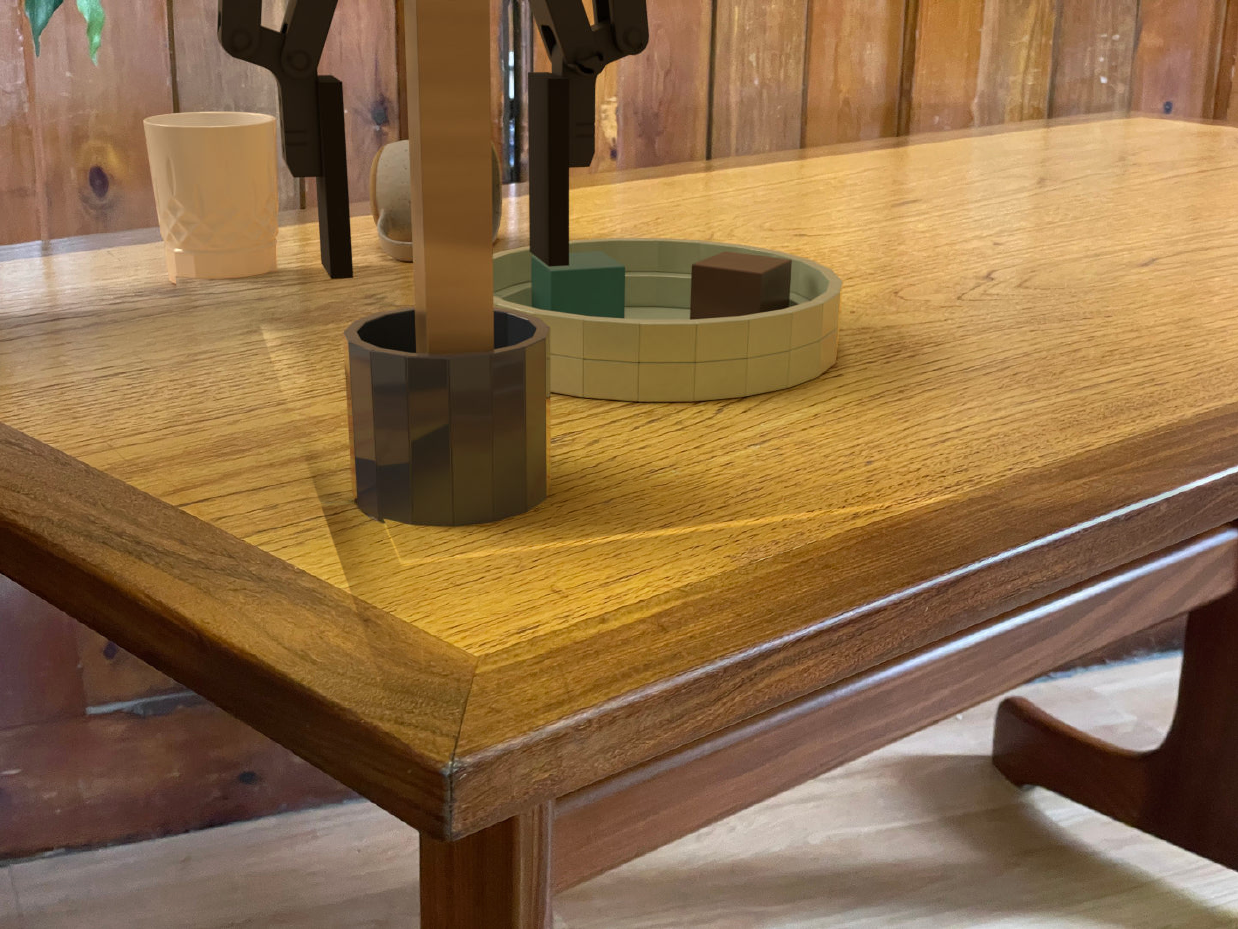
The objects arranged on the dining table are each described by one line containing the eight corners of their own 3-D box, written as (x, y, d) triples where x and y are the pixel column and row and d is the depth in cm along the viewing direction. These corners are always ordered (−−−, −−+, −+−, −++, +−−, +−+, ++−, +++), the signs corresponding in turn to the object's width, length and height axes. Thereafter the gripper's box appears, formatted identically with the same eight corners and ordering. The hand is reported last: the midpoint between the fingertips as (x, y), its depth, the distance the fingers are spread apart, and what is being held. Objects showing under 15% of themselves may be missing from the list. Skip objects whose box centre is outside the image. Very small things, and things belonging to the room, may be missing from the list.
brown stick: (420, 488, 53) (400, -74, 45) (482, 482, 53) (472, -72, 46) (432, 513, 50) (414, -72, 43) (496, 506, 51) (489, -70, 44)
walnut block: (721, 322, 76) (724, 250, 75) (788, 332, 74) (792, 259, 73) (688, 338, 73) (691, 263, 72) (757, 349, 71) (761, 273, 70)
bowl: (429, 326, 78) (426, 247, 76) (745, 304, 84) (749, 230, 82) (514, 435, 60) (513, 336, 59) (905, 398, 66) (913, 307, 65)
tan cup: (132, 283, 86) (114, 120, 83) (218, 260, 93) (204, 108, 90) (230, 298, 83) (216, 129, 80) (312, 273, 90) (302, 116, 86)
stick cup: (342, 482, 55) (331, 311, 52) (522, 464, 57) (520, 299, 55) (371, 556, 48) (360, 364, 46) (573, 532, 51) (573, 348, 48)
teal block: (531, 327, 75) (530, 254, 73) (601, 322, 76) (602, 250, 74) (551, 346, 71) (551, 270, 70) (624, 341, 72) (625, 266, 71)
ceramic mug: (398, 230, 103) (393, 126, 101) (505, 235, 102) (502, 129, 99) (351, 262, 94) (344, 148, 91) (468, 268, 92) (465, 152, 90)
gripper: (61, -573, 35) (155, 306, 43) (776, -488, 41) (742, 270, 49) (72, -491, 42) (152, 258, 50) (686, -428, 48) (669, 231, 56)
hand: (445, 263), depth 49 cm, fingers open, 7 cm apart
